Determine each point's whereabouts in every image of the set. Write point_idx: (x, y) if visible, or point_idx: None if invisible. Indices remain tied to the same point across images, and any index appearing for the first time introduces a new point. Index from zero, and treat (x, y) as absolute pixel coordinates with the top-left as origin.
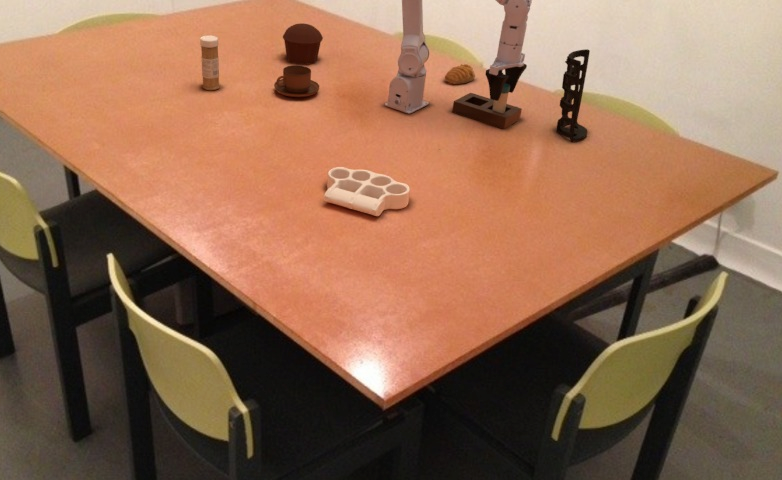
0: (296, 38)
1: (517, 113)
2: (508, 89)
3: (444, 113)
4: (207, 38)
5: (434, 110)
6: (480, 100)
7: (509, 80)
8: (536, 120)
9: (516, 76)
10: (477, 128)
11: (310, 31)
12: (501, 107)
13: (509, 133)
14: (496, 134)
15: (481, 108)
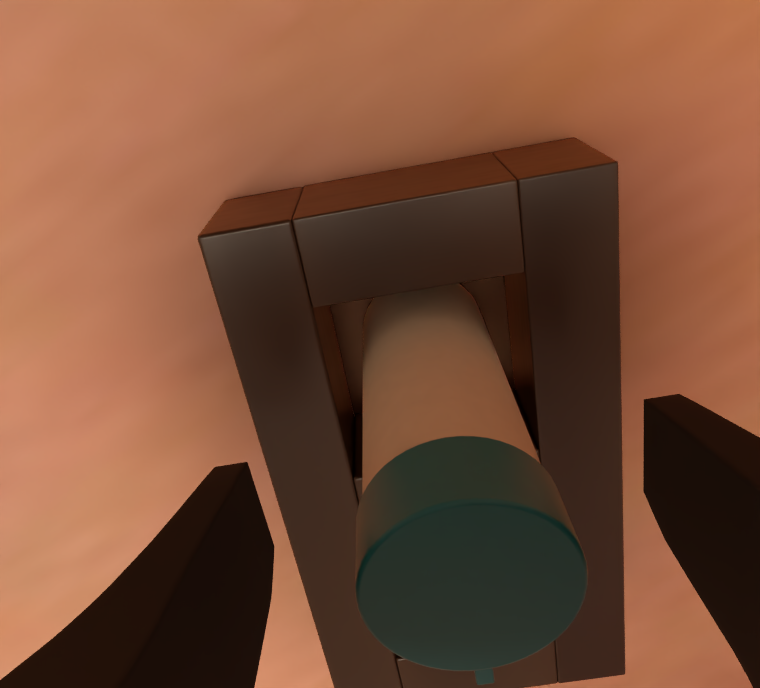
0: None
1: (306, 208)
2: (472, 471)
3: (659, 606)
4: None
5: (663, 663)
6: None
7: (231, 650)
8: (63, 74)
9: (165, 662)
10: (745, 301)
11: None
12: (482, 350)
13: (624, 25)
14: (751, 98)
15: (586, 473)
